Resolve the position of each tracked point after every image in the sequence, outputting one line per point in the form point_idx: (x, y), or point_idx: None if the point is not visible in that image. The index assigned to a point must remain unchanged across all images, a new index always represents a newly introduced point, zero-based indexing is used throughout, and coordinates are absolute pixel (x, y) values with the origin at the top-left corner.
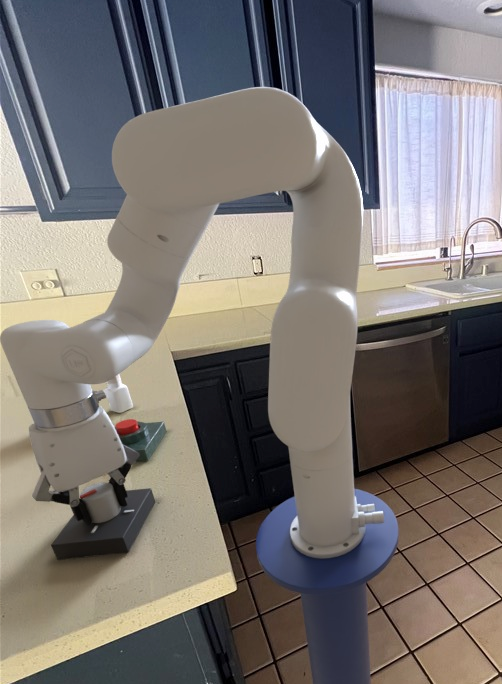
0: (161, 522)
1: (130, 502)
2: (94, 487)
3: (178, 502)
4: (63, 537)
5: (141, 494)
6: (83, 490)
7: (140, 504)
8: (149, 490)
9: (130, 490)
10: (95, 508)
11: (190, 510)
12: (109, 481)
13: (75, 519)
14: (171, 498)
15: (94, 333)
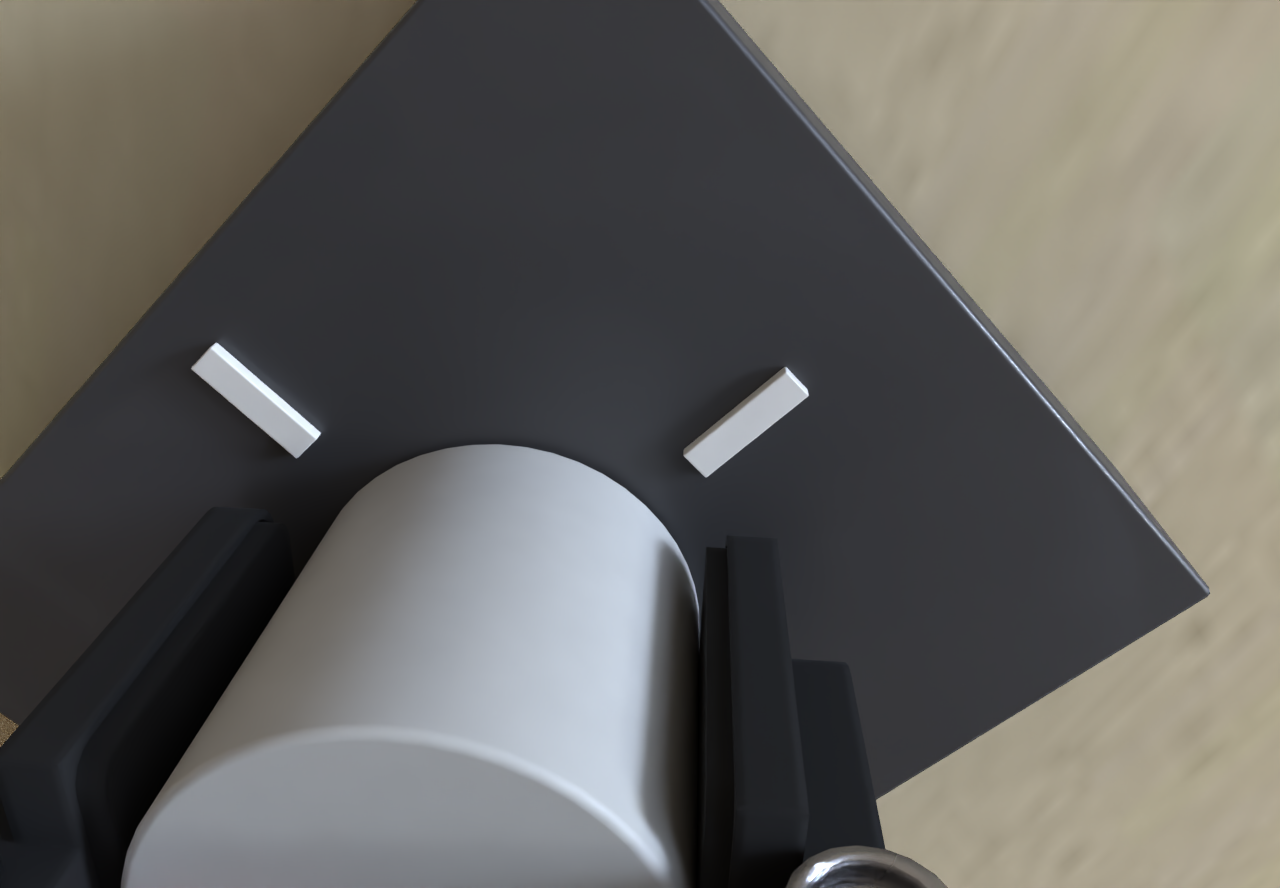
0: (901, 794)
1: (833, 658)
2: (421, 838)
3: (1224, 681)
4: (8, 627)
5: (1031, 618)
6: (223, 756)
7: (878, 786)
8: (1156, 621)
9: (1019, 399)
10: None
11: (1170, 862)
12: (732, 827)
13: (186, 401)
14: (1253, 561)
15: None
